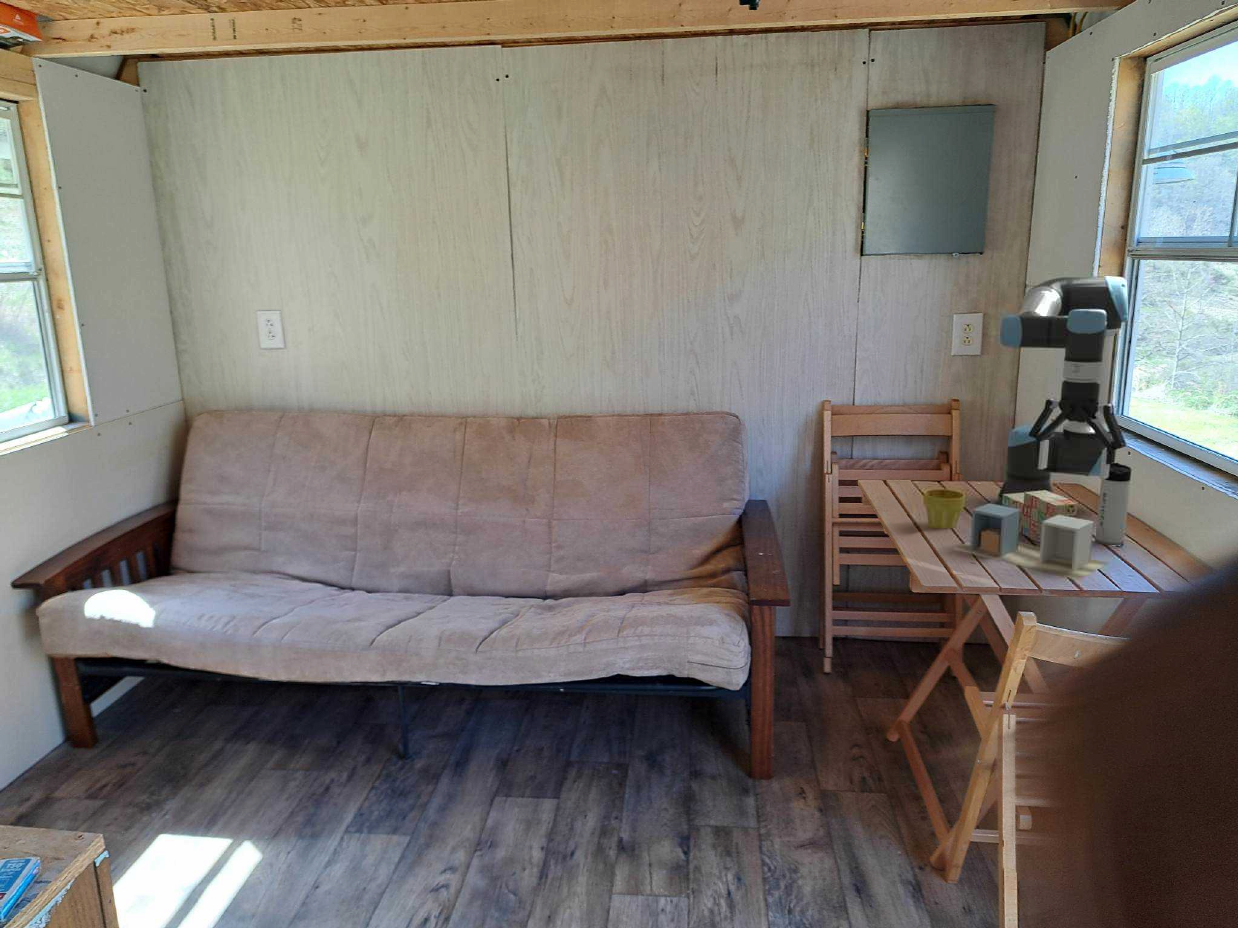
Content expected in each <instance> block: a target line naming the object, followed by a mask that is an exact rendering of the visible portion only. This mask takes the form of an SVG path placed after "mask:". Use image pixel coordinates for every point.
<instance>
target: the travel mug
mask: <svg viewBox="0 0 1238 928" xmlns="http://www.w3.org/2000/svg"><path fill="white" fill-rule="evenodd" d="M1131 476H1132V468H1131V467H1130V466H1128V465H1124V464H1120V463H1119V462H1114V464H1111V465H1110V468H1109V477H1108V478H1106V479H1100V480H1101V482H1100V488H1099V489H1100V490H1099V497H1098V498H1099V500H1098V508H1097V509H1098V510H1097V519H1096V530H1095V539H1094V541H1095V543H1096V544H1100V545H1104V546H1108V547H1109V546H1110V545H1122V546H1124V544H1125V537H1126V536H1125V535H1126V528H1127V527H1126V525H1127V518H1128V509H1129V497H1130V490H1131V489H1130V488H1131ZM1123 543H1124V544H1123ZM1110 547H1111V546H1110Z"/></svg>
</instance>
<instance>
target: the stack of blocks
mask: <svg viewBox="0 0 1238 928" xmlns="http://www.w3.org/2000/svg"><path fill="white" fill-rule="evenodd" d="M1002 506H1005V507H1010V508H1015V509H1020V510H1021V516H1020V528H1019V534H1021V535H1024V536H1026V537H1028V538H1029V539H1031V540H1034V541H1036V542H1037V543H1040V544H1041V533H1042V522H1043V521H1045V520H1047V519H1050V518H1052V517H1054V516H1056V515H1063V516H1068V517H1073V518H1077V512H1078V506H1079V503H1077V502H1075V501H1072V500H1071V499H1069V498H1067V497H1064V496H1063V495H1058V494H1056V493H1054V492H1053V493H1051V492H1048V491H1046V490H1043V491H1033V492H1025V493H1013V494H1003V495H1002Z"/></svg>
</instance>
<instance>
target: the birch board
mask: <svg viewBox="0 0 1238 928" xmlns="http://www.w3.org/2000/svg"><path fill="white" fill-rule="evenodd" d="M970 543H971V540H970V541H968V542H965V543H962V544H960V545H958V546H956V547H952V550H955V551H959V552H964V553H967V554H971V555H975V556H979V557H983V558H987V559H991V560H995V561H999V562H1002V563H1007V564H1011V565H1015V566H1019V567H1023V568H1027V569H1031V570H1036V571H1040V572H1043V573H1047V574H1050V575H1051V574H1052V575H1055V576H1060V577H1064V578H1066V579H1071V580H1075V581H1079V580H1081V579H1083V578H1085V577H1086V576H1088V575H1090V574H1092V573H1094V572H1096V571H1097V570H1099V569H1101V568H1103V567H1105V566H1106V565H1109V562H1106V561H1102V560H1097V559H1092V558H1090V563H1088V564H1087V565H1085V566H1083V567H1081V568H1079V569H1077V570H1076V571H1072V560H1071V559H1067V558H1063V557H1059V556H1055V557H1053V558H1051V559H1049V560H1047V561H1045V562H1043V563H1039V556H1040V546H1037V545H1032V544H1028V543H1024V542H1020V541H1018V549H1017V550H1014V551H1012V552H1010V553H1008V554H1006V555H1004V556H1002V557H1001V556H999V553H996V552H991V551H987V550H983V549H981V546H979V547H977V548H974V549H970Z"/></svg>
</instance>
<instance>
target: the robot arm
mask: <svg viewBox="0 0 1238 928" xmlns="http://www.w3.org/2000/svg"><path fill="white" fill-rule="evenodd" d="M1128 295H1129V293H1128V283H1127V280H1126V279H1125V278H1124V277H1121V276H1109V275H1106V276H1105V275H1103V276H1074V277H1073V276H1072V277H1070V276H1069V277H1068V276H1062V277H1057V278H1056V277H1055V278H1052V279H1048V280H1045V281H1043V282H1040V283H1038V284H1037V285H1034V286H1033V287H1032V288H1030V289H1029V290H1028V291H1027V292H1026V293H1025V295H1024V296H1023V297H1022V300H1021V309H1020V310H1019V312H1018V314H1013V315H1005V316H1003V317H1002V319H1001V323H1000V328H999V329H1000V330H999V343H1000V345H1001V346H1002V347H1004V348H1005V347H1007V348H1014V349H1019V348H1021V349H1022V348H1028V349H1029V348H1031V349H1064V350H1065V351H1064V359H1063V368H1062V369H1063V370H1062V378H1063V379H1064V380H1063V381H1062V382H1061V392H1060V400H1058V399H1056V398H1054V397H1052V398H1048V399H1046V400H1045V402H1044V408H1043V410H1042V411H1041V413H1040V415H1039V416H1038V418H1037V419H1036V421H1035V423H1034V424H1032V425H1031V424H1030V425H1023V426H1018V427H1015V428H1013V429H1011V431H1010V432H1009V435H1008V440H1007V441H1008V442H1007V445H1006V446H1007V457H1006V458H1007V459H1006V468H1005V469H1006V470H1005V478H1004V481H1003V483H1002V485H1001V487H1000V490H999V492H998V494H997V498H996V499H997V501H996V505H1000V506H1002V495H1003V494H1013V493H1025V492H1033V491H1043V490H1046V491H1048V492H1051V493H1053V494H1054V491H1053V487H1052V484H1051V476H1052V475H1051V473H1053V474H1067V475H1075V476H1076V475H1077V476H1086V477H1099V479H1100V480H1102V479H1106V478H1108V477H1109V468H1110V465H1111V464H1114V463H1116V462H1115V461H1116V454H1117V453H1116V451H1117V450H1119V449H1123V448H1126V446H1127V443H1126V440H1125V437H1124V435H1123V433H1122V430H1121V427H1120V425H1119V422H1118V420H1117V418H1116V416H1115V412H1114V411H1115V407H1114V404H1113V403H1108V399H1109V388H1110V379H1111V368H1112V357H1113V350H1114V349H1113V348H1114V347H1113V346H1114V338H1115V335H1116V334H1117V333H1118V332H1119V331H1120V330H1121V329H1122V325H1123V323H1127V322H1128V321H1129V300H1128V299H1129V298H1128V297H1129V296H1128ZM1057 408H1059V410H1060V411H1061V413H1059V414H1058V415H1057V416H1056V417H1055V419H1053V420H1052V421H1051V422H1050V423H1049V424H1047V421H1048V420H1049V418H1050V417H1051V415H1052V413H1053V412H1054V410H1055V409H1057ZM1065 421H1068V422H1067V423H1065V424H1064V425H1063V428H1062V431H1056V429H1057V428H1058V427H1060V426H1061V425H1062V424H1063V423H1064V422H1065Z"/></svg>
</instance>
